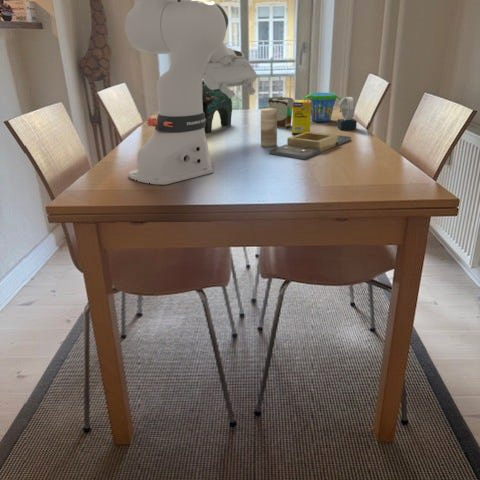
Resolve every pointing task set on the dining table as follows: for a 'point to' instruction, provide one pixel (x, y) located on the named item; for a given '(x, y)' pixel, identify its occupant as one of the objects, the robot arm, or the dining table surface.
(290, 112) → the food container
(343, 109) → the watch
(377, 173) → the dining table surface
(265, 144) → the hinge pin
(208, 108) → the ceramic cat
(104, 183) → the dining table surface
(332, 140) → the hinge
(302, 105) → the supplement box
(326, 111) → the snack cup
